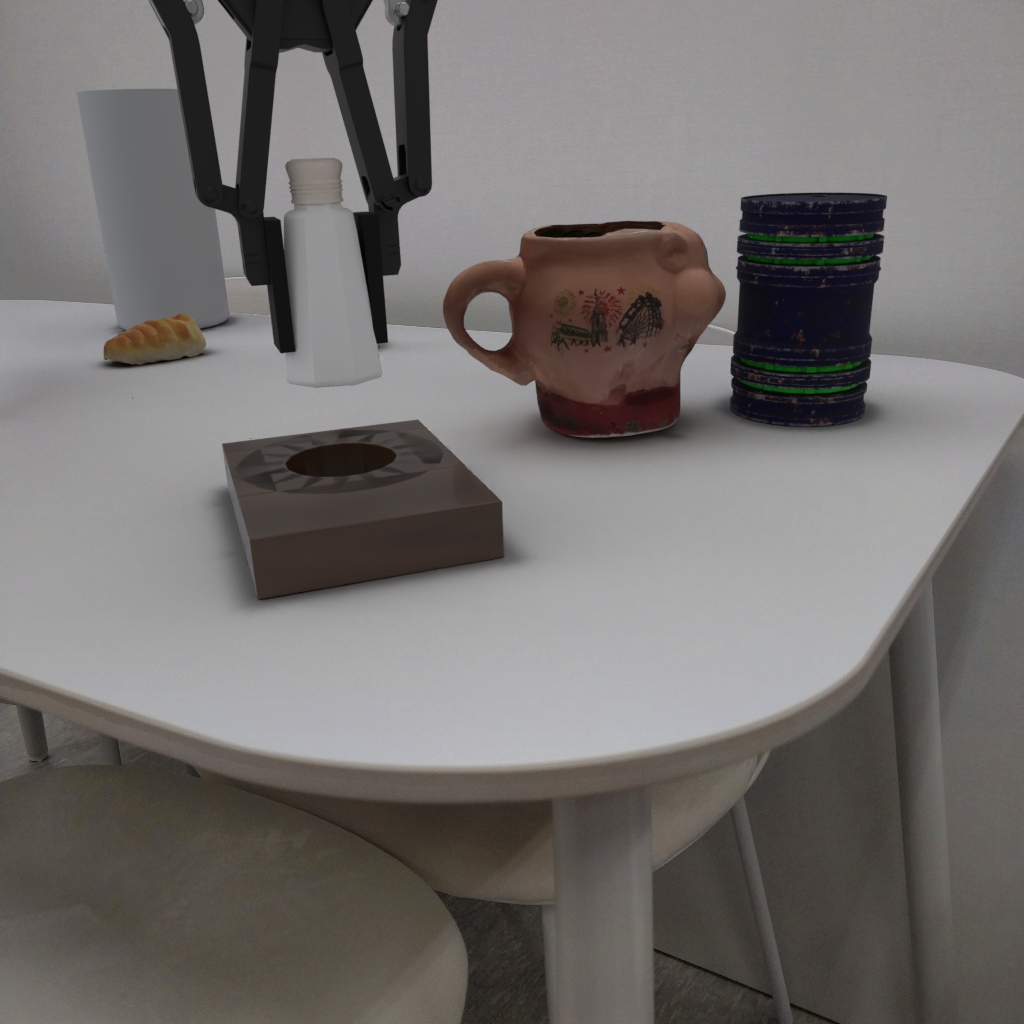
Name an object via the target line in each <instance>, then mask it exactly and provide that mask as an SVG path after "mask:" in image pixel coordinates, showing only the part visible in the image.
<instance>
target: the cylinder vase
mask: <svg viewBox="0 0 1024 1024" xmlns="http://www.w3.org/2000/svg"><path fill="white" fill-rule="evenodd" d="M76 99H77V103H78V109H79V114H80V121H81V125H82V132H83V137H84V143H85V148H86V154H87V160H88V164H89V165H88V167H89V171H90V176H91V182H92V189H93V193H94V200H95V206H96V211H97V216H98V222H99V227H100V233H101V240H102V244H103V250H104V255H105V261H106V267H107V274H108V277H109V278H108V279H109V283H110V290H111V297H112V300H113V306H114V312H115V318H116V322H117V325H118V326H119V327H120V328H122V330H124V331H127V330H129V329H131V328H133V327H134V326H135V325H137V324H140V323H142V322H144V321H146V320H150V319H163V318H170V317H171V316H176V315H178V314H186V315H189V316H191V317H192V318H193V319H194V320H195V322H196V325H197V326H198V327H199V328H200V330H202V329H207V328H210V327H211V328H212V327H214V326H217V325H220V324H222V323H224V322H225V321H227V320H228V318H229V316H230V309H229V300H228V293H227V285H226V278H225V273H224V272H225V271H224V263H223V256H222V249H221V241H220V234H219V227H218V218H217V211H216V209H214V208H211V207H207V206H205V205H203V204H202V203H201V202H200V201H199V200H198V199H197V197H196V194H195V189H194V183H193V177H192V171H191V166H190V160H189V154H188V148H187V142H186V136H185V131H184V125H183V119H182V113H181V107H180V101H179V96H178V90H177V88H119V89H115V88H113V89H97V90H96V89H95V90H83V91H78V92H76Z"/></svg>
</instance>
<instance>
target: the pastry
mask: <svg viewBox="0 0 1024 1024" xmlns="http://www.w3.org/2000/svg"><path fill="white" fill-rule="evenodd" d="M206 347H207V341H206V338H205V336H204V334H203V331H202V329H200V328H199V327H198V326H197V325H196V322H195V320H194V319H193V318H192V317H191V316H189V315H186V314H178V315H176V316H171V317H170V318H163V319H150V320H146V321H144V322H142V323H140V324H137V325H135V326H134V327H133V328H131V329H129V330H124V331H121V332H119V333H118V334H117V335H116V336H113V337H112V338H109V339H108V340H107V341H105V343H104V345H103V359H104V361H109V360H110V361H114V362H119V363H124V364H130V365H131V366H133V365H138V366H141V365H144V364H148V363H158V362H160V361H174V360H179V359H182V358H183V357H188V358H191V357H196V356H199V355H201V354H203V353H204V350H205V348H206Z"/></svg>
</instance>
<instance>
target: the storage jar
mask: <svg viewBox="0 0 1024 1024" xmlns="http://www.w3.org/2000/svg"><path fill="white" fill-rule="evenodd" d="M887 202H888V195H886V194H882V193H881V194H880V193H870V192H869V193H867V192H788V193H784V192H783V193H767V194H766V193H765V194H753V195H746V196H741V197H740V209H739V210H740V211H741V218H740V219H739V227H738V229H739V232H740V233H742V234H740V235H738V236H737V241H736V253H737V254H738V255H739V256H738V257H737V265H736V267H735V270H736V279H737V281H738V283H739V291H738V305H737V307H738V308H737V327H736V331H735V332H734V334H733V340H732V353H733V355H732V356H731V357H730V370H729V371H730V372H729V373H730V375H731V376H732V378H731V381H730V387H731V389H732V395H731V397H730V398H729V409H730V410H731V412H733V413H734V414H736V415H737V416H740V417H741V418H745V419H747V420H751V421H755V422H759V423H763V424H771V425H778V426H786V427H787V426H788V427H789V426H790V427H791V426H792V427H827V426H837V425H842V424H846V423H847V424H848V423H851V422H854V421H857V420H859V419H861V418H862V417H863V416H864V415H865V412H866V402H865V400H864V399H865V394H866V393H867V391H868V383H867V381H868V380H870V378H871V371H872V360H871V359H870V357H871V355H872V347H873V337H872V335H871V333H870V331H871V330H870V329H871V320H872V312H873V303H874V302H873V301H874V293H875V284H876V283H877V281H878V280H879V277H880V271H881V270H882V267H881V259H882V257H880V256H879V255H881V254H883V252H884V243H885V235H883V234H880V233H882V232H883V231H885V230H884V229H885V222H886V221H885V220H886V218H884V211H885V210H886V208H887Z"/></svg>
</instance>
